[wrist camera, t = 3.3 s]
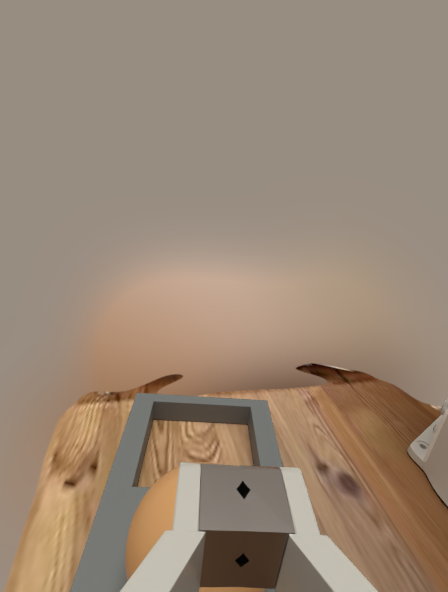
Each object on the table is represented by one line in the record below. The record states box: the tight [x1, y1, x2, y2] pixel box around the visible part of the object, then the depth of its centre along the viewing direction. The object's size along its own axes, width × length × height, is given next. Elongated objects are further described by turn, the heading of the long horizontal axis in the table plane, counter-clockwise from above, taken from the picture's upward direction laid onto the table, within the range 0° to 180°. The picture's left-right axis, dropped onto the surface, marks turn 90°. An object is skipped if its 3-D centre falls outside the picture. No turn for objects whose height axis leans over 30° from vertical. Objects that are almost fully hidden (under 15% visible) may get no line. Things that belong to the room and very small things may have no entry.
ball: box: [125, 462, 265, 592], centre depth 23 cm, size 10×10×10 cm
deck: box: [70, 393, 283, 592], centre depth 32 cm, size 29×18×3 cm, turn 2°
